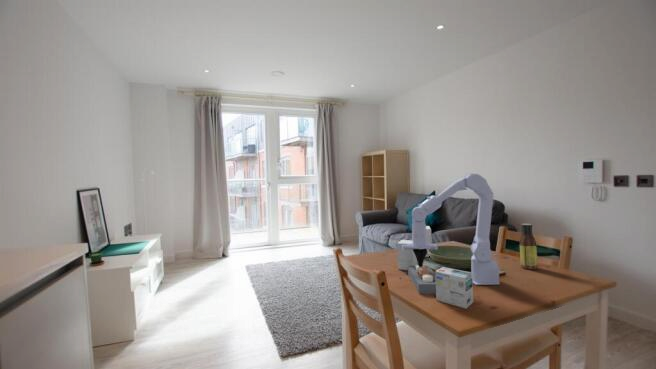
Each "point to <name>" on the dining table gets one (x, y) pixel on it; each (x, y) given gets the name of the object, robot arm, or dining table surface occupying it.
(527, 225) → the sauce bottle
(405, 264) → the supplement box
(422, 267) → the plug sage
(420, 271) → the plug rust
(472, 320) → the dining table surface
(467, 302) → the light bulb box
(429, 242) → the supplement box
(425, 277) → the plug cream
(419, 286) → the socket board
